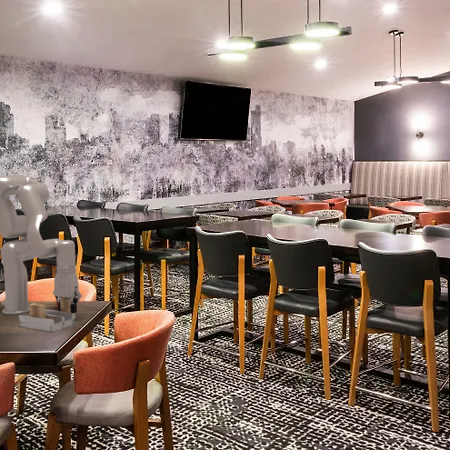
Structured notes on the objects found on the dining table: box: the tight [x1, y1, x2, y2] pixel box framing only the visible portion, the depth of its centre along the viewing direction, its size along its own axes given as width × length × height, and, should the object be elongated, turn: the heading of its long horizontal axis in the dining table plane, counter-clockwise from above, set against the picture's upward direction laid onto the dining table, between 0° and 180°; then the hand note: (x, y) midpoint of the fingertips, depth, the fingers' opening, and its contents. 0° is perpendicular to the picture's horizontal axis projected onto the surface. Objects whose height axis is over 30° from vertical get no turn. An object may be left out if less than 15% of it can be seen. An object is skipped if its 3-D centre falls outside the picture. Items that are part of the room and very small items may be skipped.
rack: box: [18, 308, 75, 333], centre depth 242 cm, size 18×12×5 cm
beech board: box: [60, 297, 76, 320], centre depth 253 cm, size 6×2×9 cm, turn 61°
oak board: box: [29, 303, 46, 319], centre depth 241 cm, size 6×2×9 cm, turn 61°
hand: (67, 311), depth 253 cm, fingers closed on beech board, 6 cm apart
